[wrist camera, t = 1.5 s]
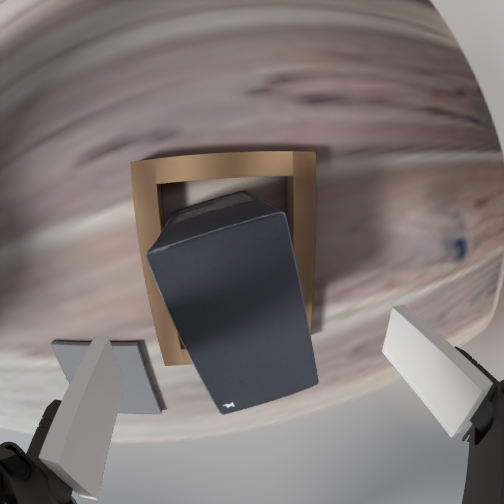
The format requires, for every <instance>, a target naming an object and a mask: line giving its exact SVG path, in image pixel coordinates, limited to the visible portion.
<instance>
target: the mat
mask: <svg viewBox="0 0 504 504" xmlns="http://www.w3.org/2000/svg"><path fill="white" fill-rule="evenodd" d="M90 344H91V342H65V341H52V343H51V346H52V349H53V351H54V353H55V355H56V357H57V360H58V362H59V364H60V366H61V368H62V370H63V372H64V374H65V376H66V378H67V380H68V382H69V384H70V383H71V381H72V379H73V377H74V375H75V373H76V371H77V369H78V367H79V365H80V363H81V361H82V359H83V357H84V355H85V353H86V352H87V350H88V348H89V346H90ZM111 345H112V348H113V351H114V354H115V356H116V359H117V362H118V364H119V367H120V370H121V372H122V375H123V377H124V380H125V382H126V384H125V388H124V391H123V395H122V398H121V402H120V406H119V409H118V413H127V414H161V412H162V410H161V407H160V405H159V402H158V400H157V397H156V394H155V392H154V389H153V386H152V383H151V381H150V378H149V375H148V372H147V369H146V366H145V363H144V360H143V357H142V353H141V350H140V347H139V343H138V342H111Z"/></svg>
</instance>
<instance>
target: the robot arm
mask: <svg viewBox="0 0 504 504" xmlns="http://www.w3.org/2000/svg"><path fill="white" fill-rule="evenodd" d="M382 352H383V354H384V355H385V356H386V357H387V358H388V360H389V361H390V362H391V363H392V364H393V366H394V367H395V368H396V369H397V370H398V372H399V373H400V374H401V375H402V376H403V378H404V379H405V380H406V381H407V382H408V384H409V385H410V386H411V387H412V389H413V390H414V391H415V392H416V393H417V395H418V396H419V397H420V398H421V400H422V401H423V402H424V403H425V405H426V406H427V407H428V408H429V409H430V411H431V412H432V413H433V415H434V416H435V417H436V418H437V420H438V421H439V422H440V424H441V425H442V426H443V427H444V429H445V430H446V431H447V433H448V434H449V435H450V436H451V437H453V436H455V435H456V434H458V433H459V432H461V431H462V430H464V428H465V427H466V425H467V424H468V423H469V421H471V422H472V426H471V427H470V428H469V430H468V431H467V433H466V434H465V435H464V437H463V439H462V441H464V440H465V439H466V438H467V437H468V435H469V434H470V437H469V438H468V440H467V442H469V457H468V467H467V475H466V483H465V489H464V495H463V501H462V504H504V380H502V381H500V382H499V381H497V380H496V379H495V378H494V377H493V376H492V375H491V374H490V373H489V372H488V371H486V370H485V369H484V368H483V367H482V366H481V365H480V364H477V361H475V360H474V359H472V357H471V356H470V355H469V354H468V353H466V352H465V351H464V350H462V349H460V348H458V347H453V346H452V345H451V344H450V343H449V342H448V341H446V340H445V339H444V338H443V337H442V336H441V335H440V334H438V333H437V332H436V331H435V330H434V329H433V328H431V327H430V326H429V325H428V324H427V323H425V322H424V321H423V320H422V319H421V318H420V317H418V316H417V315H416V314H415V313H413V312H412V311H411V310H410V309H409V308H407V307H406V306H405V305H401V306H396V307H392V312H391V316H390V321H389V325H388V330H387V334H386V338H385V342H384V346H383V350H382ZM125 384H126V382H125V380H124V377H123V375H122V372H121V370H120V367H119V364H118V362H117V359H116V356H115V354H114V351H113V348H112V345H111V342H110V339H109V338H94V339H93V341H92V342H91V344H90V346H89V348H88V350H87V352H86V353H85V355H84V357H83V359H82V361H81V363H80V365H79V367H78V369H77V371H76V373H75V375H74V377H73V379H72V381H71V383H70V385H69V387H68V389H67V391H66V393H65V395H64V397H63V400H62V401H61V400H54V401H53V402H52V403H51V404H50V405H49V406H48V407H47V408H46V410H45V412H44V414H43V416H42V419H41V421H40V423H39V427H37V430H36V432H35V434H34V437H33V439H32V441H31V444H30V446H29V449H28V451H27V453H26V454H25V452H24V451H23V450H22V449H21V448H20V447H19V446H18V445H17V444H15V443H13V442H4V443H2V444H1V445H0V504H77V503H76V501H75V499H74V498H73V497H72V496H71V495H72V490H74V491H75V492H76V493H77V494H78V495H80V496H82V497H86V498H90V499H94V500H99V495H100V490H101V484H102V478H103V474H104V468H105V464H106V458H107V454H108V449H109V445H110V441H111V437H112V433H113V429H114V425H115V421H116V417H117V413H118V409H119V406H120V402H121V398H122V395H123V391H124V388H125Z"/></svg>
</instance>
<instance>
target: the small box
mask: <svg viewBox="0 0 504 504" xmlns="http://www.w3.org/2000/svg"><path fill="white" fill-rule="evenodd" d="M145 256H146V259H147V262H148V264H149V267H150V270H151V272H152V275H153V277H154V280H155V282H156V285H157V287H158V290H159V292H160V294H161V297H162V299H163V302H164V304H165V306H166V308H167V310H168V313H169V315H170V318H171V320H172V322H173V324H174V326H175V328H176V330H177V333H178V335H179V337H180V339H181V341H182V343H183V346H184V347H185V349H186V351H187V354H188V356H189V357H190V359H191V361H192V363H193V365H194V367H195V369H196V371H197V373H198V375H199V377H200V379H201V381H202V382H203V384H204V386H205V388H206V390H207V392H208V393H209V395H210V397H211V399H212V401H213V402H214V404H215V405H216V407H217V409H218V411H219V412H220V414H223V415H225V414H229V413H232V412H236V411H239V410H243V409H247V408H250V407H254V406H258V405H261V404H264V403H267V402H270V401H274V400H277V399H280V398H283V397H286V396H289V395H292V394H295V393H297V392H300V391H303V390H305V389H308V388H310V387H313V386H316V385H317V384H318V376H317V369H316V364H315V358H314V352H313V347H312V341H311V336H310V331H309V325H308V320H307V315H306V309H305V304H304V299H303V294H302V289H301V284H300V279H299V274H298V269H297V264H296V259H295V255H294V250H293V245H292V240H291V235H290V231H289V227H288V222H287V218H286V214H285V213H284V212H282V211H280V210H279V209H276V208H275V207H273V206H271V205H269V204H268V203H266V202H264V201H263V200H261V199H259V198H257V197H256V196H254V195H252V194H251V193H249V192H248V191H242V192H238V193H235V194H231V195H227V196H224V197H220V198H216V199H213V200H210V201H206V202H203V203H200V204H196V205H193V206H190V207H187V208H183V209H180V210H177V211H174V212H173V213H172V214H171V216H170V218H169V220H168V222H167V223H166V225H165V227H164V228H163V230H162V231H161V233H160V235H159V237H158V238H157V240H156V242H155V243H154V244H153V245H152V247H151V248H150V249H149V250H148V251H147V253H146V255H145Z"/></svg>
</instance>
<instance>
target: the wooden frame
mask: <svg viewBox="0 0 504 504" xmlns="http://www.w3.org/2000/svg"><path fill="white" fill-rule="evenodd" d="M131 176H132V188H133V199H134V208H135V217H136V225H137V233H138V240H139V247H140V253H141V260H142V266H143V271H144V277H145V282H146V288H147V293H148V298H149V302H150V307H151V312H152V316H153V321H154V325H155V329H156V333H157V337H158V341H159V345H160V349H161V353H162V357H163V360H164V364H165V366H171V365H190V364H193V363H192V361H191V359H190V357H189V356H188V354H187V351H186V349H185V347H184V346H183V343H182V341H181V339H180V337H179V335H178V333H177V330H176V328H175V326H174V324H173V322H172V320H171V318H170V315H169V313H168V310H167V308H166V306H165V304H164V302H163V299H162V297H161V294H160V292H159V290H158V287H157V285H156V282H155V280H154V277H153V275H152V272H151V270H150V267H149V264H148V262H147V259H146V256H145V255H146V253H147V251H148V250H149V249H150V248H151V247H152V245H153V244H154V243H155V242H156V240H157V238H158V237H159V235H160V233H161V231H162V230H163V228H164V227H165V225H164V215H163V205H162V193H161V184H162V183H171V182H182V181H193V180H206V179H220V178H237V177H259V176H286V188H287V222H288V227H289V231H290V235H291V240H292V245H293V250H294V255H295V259H296V264H297V269H298V274H299V279H300V284H301V289H302V294H303V299H304V304H305V309H306V315H307V320H308V325H309V331H310V328H311V315H312V301H313V285H314V265H315V238H316V152H304V151H259V152H230V153H212V154H198V155H186V156H176V157H166V158H158V159H149V160H142V161H134V162H131Z"/></svg>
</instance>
